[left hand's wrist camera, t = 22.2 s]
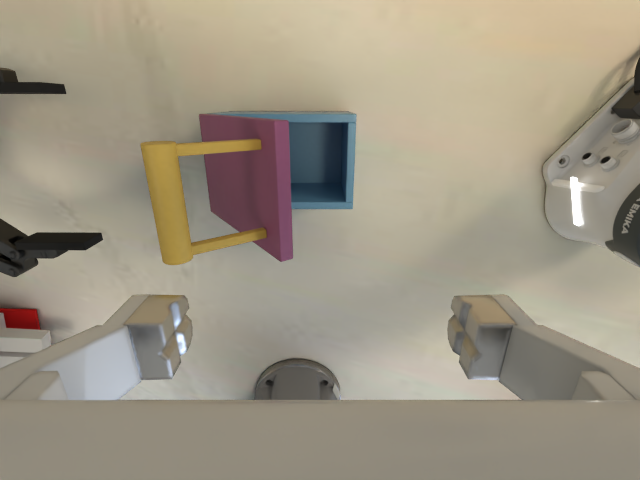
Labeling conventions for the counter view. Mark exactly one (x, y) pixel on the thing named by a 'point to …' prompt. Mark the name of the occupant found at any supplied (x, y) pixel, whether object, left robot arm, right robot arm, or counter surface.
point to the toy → (20, 335)
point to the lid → (226, 186)
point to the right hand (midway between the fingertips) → (75, 171)
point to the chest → (317, 156)
